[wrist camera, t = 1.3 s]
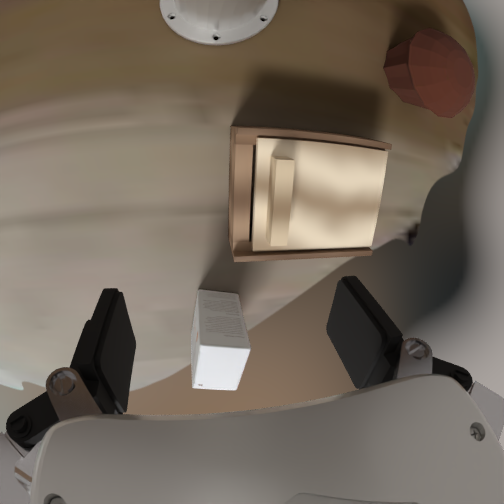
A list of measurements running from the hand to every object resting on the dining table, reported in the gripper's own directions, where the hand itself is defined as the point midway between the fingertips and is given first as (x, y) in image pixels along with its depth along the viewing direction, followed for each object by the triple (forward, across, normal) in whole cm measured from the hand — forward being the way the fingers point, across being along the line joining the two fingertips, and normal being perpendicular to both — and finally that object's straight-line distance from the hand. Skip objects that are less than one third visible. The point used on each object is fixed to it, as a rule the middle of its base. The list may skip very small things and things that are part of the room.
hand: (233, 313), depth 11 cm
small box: (+22, 0, +18) cm, 29 cm away
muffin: (+23, -25, -17) cm, 38 cm away
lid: (+17, -11, 0) cm, 20 cm away
